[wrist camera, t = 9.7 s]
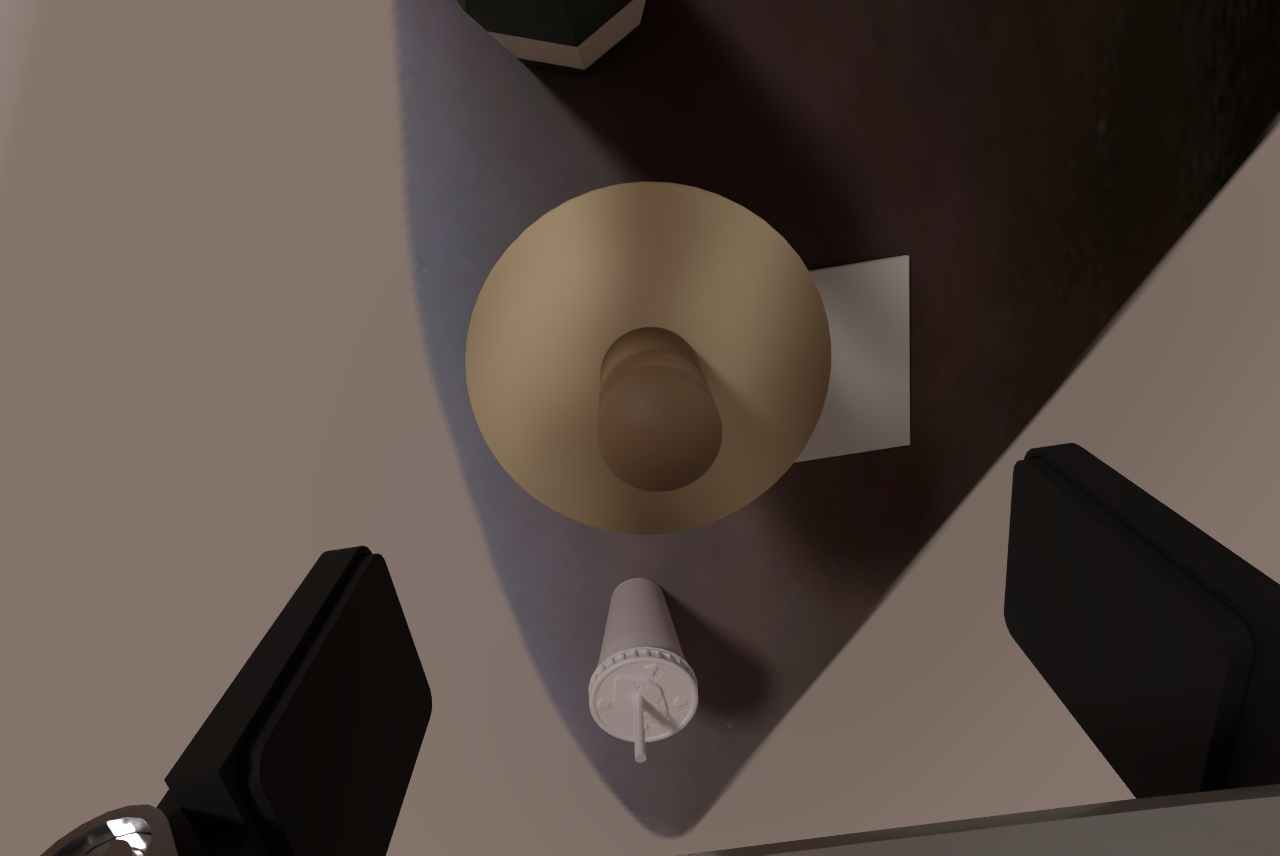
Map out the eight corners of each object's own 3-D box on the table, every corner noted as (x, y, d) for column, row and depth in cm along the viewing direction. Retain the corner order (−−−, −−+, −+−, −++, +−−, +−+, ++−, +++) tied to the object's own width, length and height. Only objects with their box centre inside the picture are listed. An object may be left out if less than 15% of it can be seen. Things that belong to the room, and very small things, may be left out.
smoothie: (642, 544, 47) (654, 695, 35) (702, 602, 49) (734, 766, 36) (572, 597, 49) (559, 762, 36) (633, 652, 51) (641, 826, 38)
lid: (810, 148, 20) (879, 151, 15) (834, 492, 24) (895, 588, 19) (426, 218, 20) (363, 245, 15) (517, 546, 24) (491, 653, 19)
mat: (906, 255, 41) (908, 256, 40) (907, 442, 45) (910, 444, 45) (701, 287, 41) (702, 289, 41) (723, 470, 46) (724, 473, 45)
